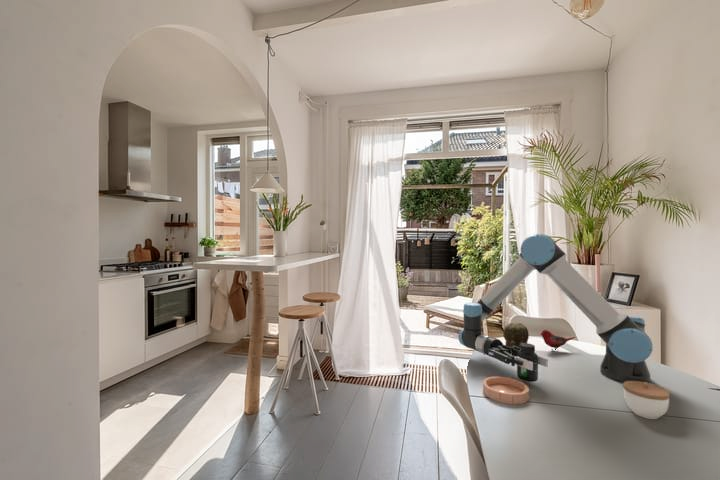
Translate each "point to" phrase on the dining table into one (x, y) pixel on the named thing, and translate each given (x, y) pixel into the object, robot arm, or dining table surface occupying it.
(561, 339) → the decorative bird figurine
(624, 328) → the robot arm
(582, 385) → the dining table surface
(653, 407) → the lidded jar
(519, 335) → the brown rounded lump
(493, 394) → the terracotta dish
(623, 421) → the dining table surface
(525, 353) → the supplement bottle
